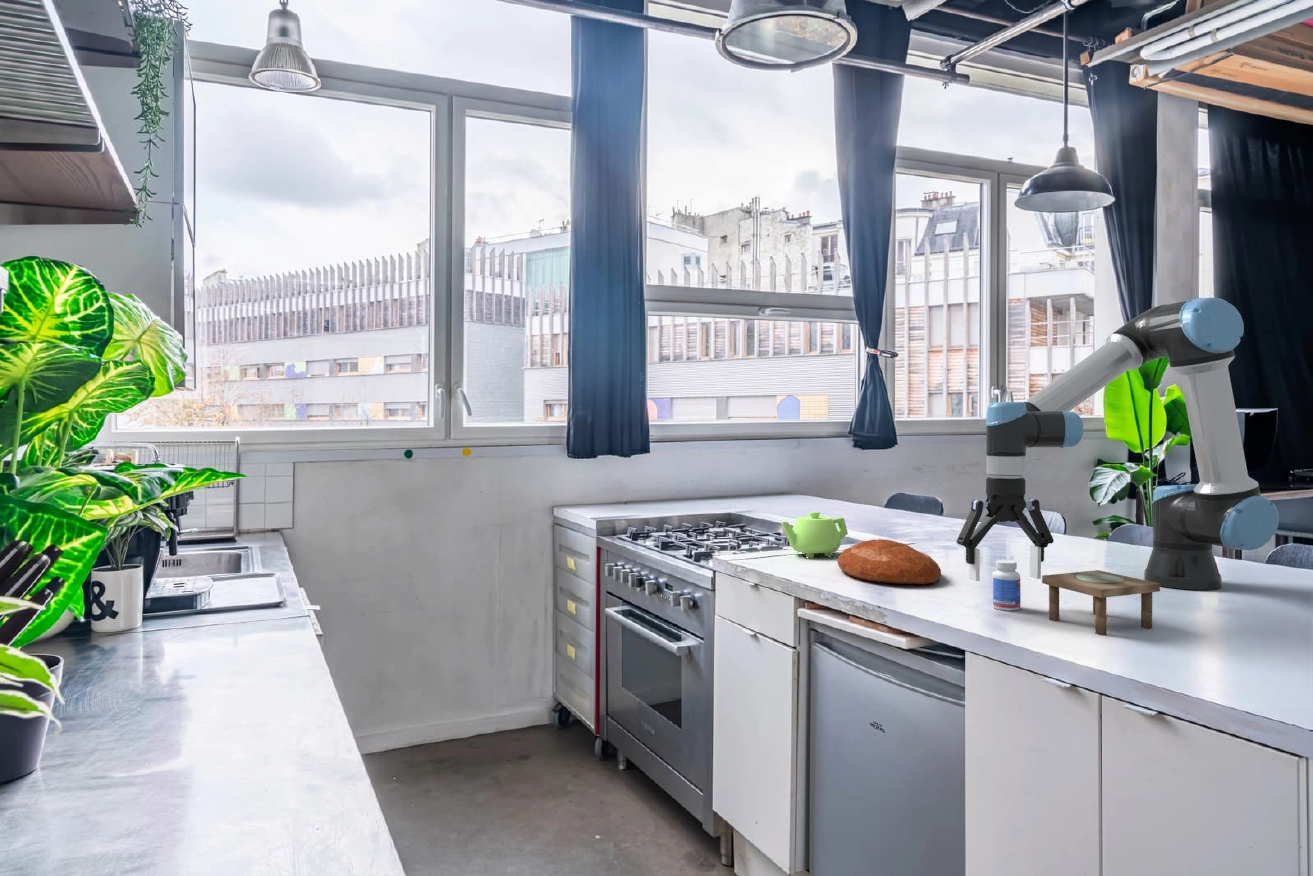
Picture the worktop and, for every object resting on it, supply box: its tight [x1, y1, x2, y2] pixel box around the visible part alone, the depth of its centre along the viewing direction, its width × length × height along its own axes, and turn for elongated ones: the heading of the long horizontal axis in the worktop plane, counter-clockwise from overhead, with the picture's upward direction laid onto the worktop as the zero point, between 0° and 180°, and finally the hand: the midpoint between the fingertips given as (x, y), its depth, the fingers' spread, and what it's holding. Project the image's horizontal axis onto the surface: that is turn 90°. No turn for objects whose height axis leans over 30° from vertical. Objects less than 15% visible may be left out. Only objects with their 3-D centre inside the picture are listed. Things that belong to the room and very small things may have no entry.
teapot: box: [781, 511, 849, 559], centre depth 236 cm, size 20×13×13 cm
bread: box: [837, 538, 942, 585], centre depth 206 cm, size 23×32×9 cm
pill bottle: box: [991, 559, 1022, 612], centre depth 170 cm, size 6×5×10 cm
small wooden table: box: [1041, 569, 1161, 636], centre depth 156 cm, size 14×14×9 cm
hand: (1004, 578), depth 170 cm, fingers open, 13 cm apart
